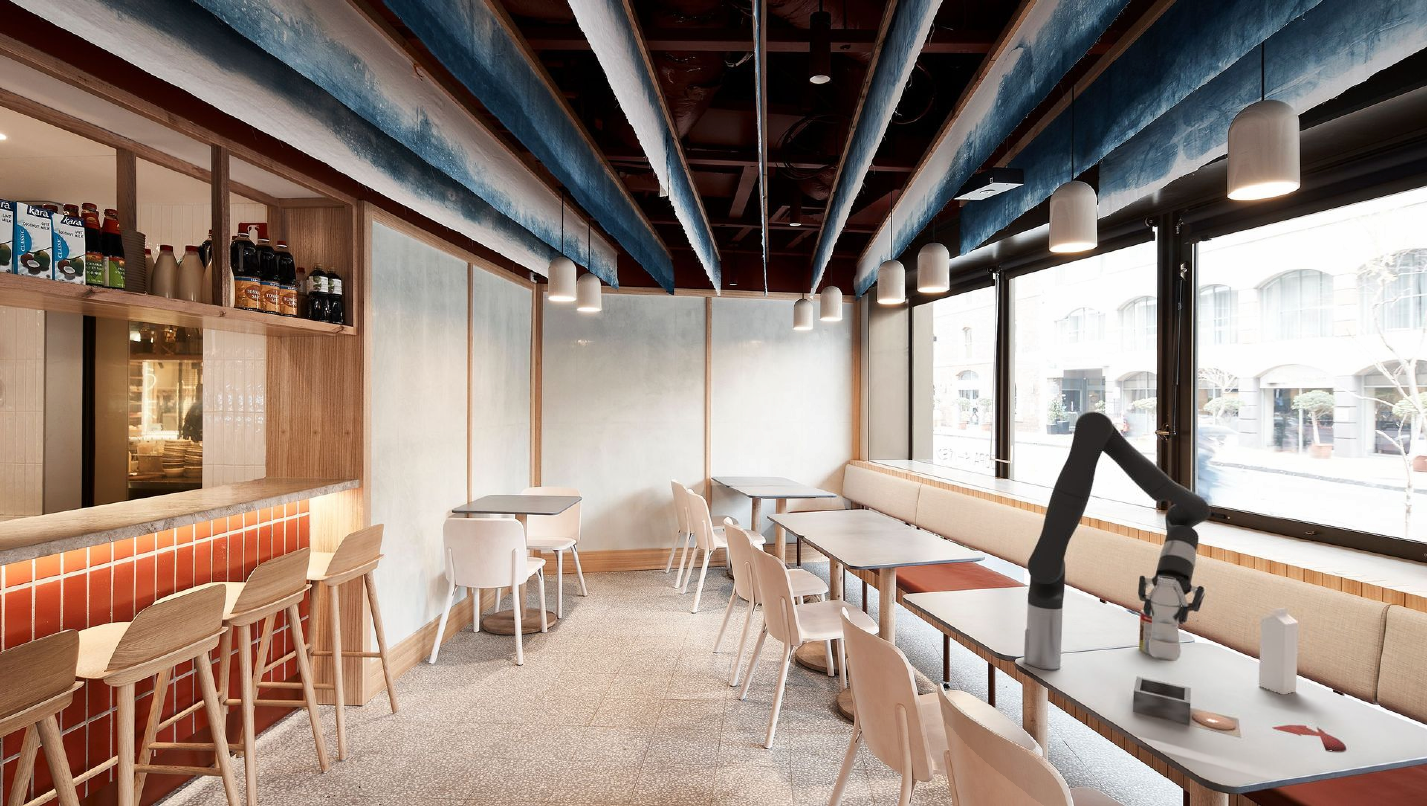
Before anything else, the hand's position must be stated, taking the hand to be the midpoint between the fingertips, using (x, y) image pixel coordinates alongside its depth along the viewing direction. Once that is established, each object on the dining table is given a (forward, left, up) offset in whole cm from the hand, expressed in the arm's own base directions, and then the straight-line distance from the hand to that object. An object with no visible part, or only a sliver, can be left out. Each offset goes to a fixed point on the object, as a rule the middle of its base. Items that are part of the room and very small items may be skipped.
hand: (1163, 618), depth 171 cm
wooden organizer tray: (+5, +1, -24) cm, 25 cm away
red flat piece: (+26, +8, -25) cm, 37 cm away
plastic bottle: (0, +2, -11) cm, 11 cm away
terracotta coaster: (+10, +1, -23) cm, 25 cm away
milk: (+25, +42, -24) cm, 55 cm away
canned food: (-4, +55, -24) cm, 61 cm away
